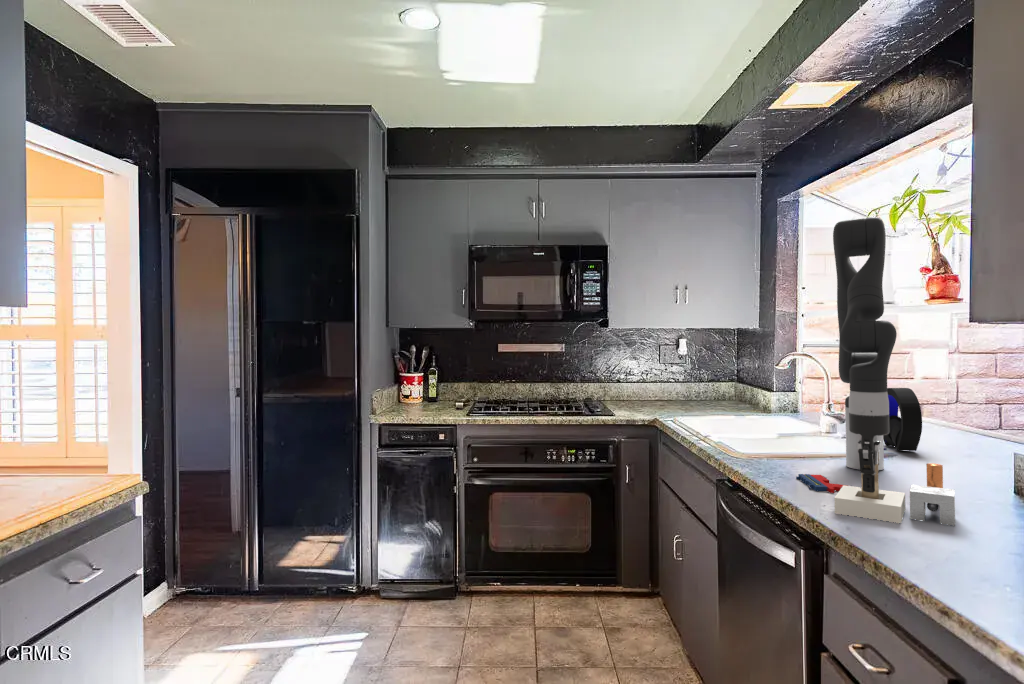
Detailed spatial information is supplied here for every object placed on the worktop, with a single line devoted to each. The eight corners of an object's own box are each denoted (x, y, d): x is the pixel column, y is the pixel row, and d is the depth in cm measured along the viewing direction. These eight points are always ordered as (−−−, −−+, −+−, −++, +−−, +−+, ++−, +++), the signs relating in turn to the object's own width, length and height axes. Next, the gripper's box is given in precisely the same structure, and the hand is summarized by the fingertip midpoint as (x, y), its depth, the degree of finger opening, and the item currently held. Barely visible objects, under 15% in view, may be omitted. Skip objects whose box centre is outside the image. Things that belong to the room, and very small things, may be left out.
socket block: (843, 500, 134) (843, 485, 134) (905, 508, 127) (905, 492, 127) (834, 513, 125) (834, 497, 125) (901, 523, 117) (900, 506, 117)
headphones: (925, 455, 177) (924, 391, 176) (901, 455, 178) (900, 391, 178) (898, 443, 195) (898, 385, 194) (877, 443, 196) (876, 385, 196)
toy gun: (834, 480, 154) (794, 479, 155) (834, 474, 154) (794, 473, 155) (857, 495, 139) (813, 494, 141) (857, 489, 139) (813, 487, 141)
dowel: (862, 498, 128) (861, 454, 128) (879, 500, 126) (878, 455, 126) (860, 502, 125) (860, 456, 125) (878, 504, 123) (877, 458, 123)
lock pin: (943, 498, 132) (942, 464, 132) (941, 516, 120) (941, 478, 120) (927, 496, 134) (926, 462, 134) (924, 514, 122) (923, 477, 122)
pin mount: (954, 518, 120) (954, 489, 120) (954, 526, 115) (954, 496, 115) (911, 512, 124) (911, 484, 124) (910, 519, 120) (909, 491, 120)
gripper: (885, 417, 118) (887, 500, 118) (892, 408, 129) (893, 485, 129) (844, 414, 122) (845, 494, 122) (853, 406, 133) (854, 480, 134)
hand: (870, 489), depth 126 cm, fingers closed on dowel, 3 cm apart
